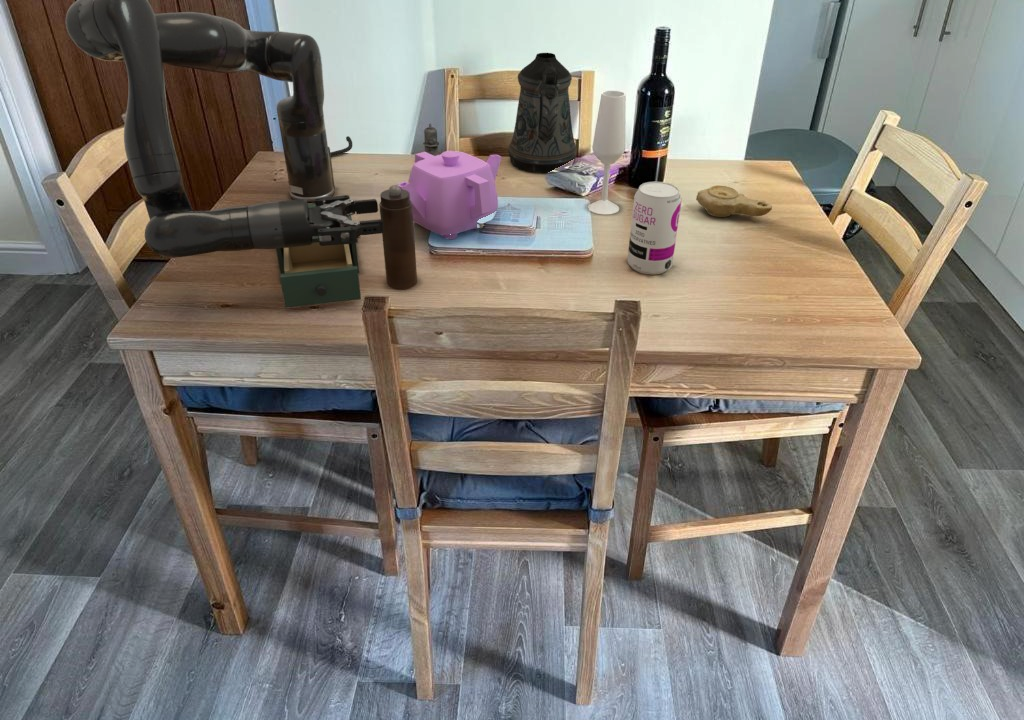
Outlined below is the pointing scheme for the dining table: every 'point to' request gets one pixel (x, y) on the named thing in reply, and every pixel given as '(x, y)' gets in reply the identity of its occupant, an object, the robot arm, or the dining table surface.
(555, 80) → the dark engraved coffee pot
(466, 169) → the teapot
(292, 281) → the drawer
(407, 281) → the pepper mill
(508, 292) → the dining table surface
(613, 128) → the champagne flute
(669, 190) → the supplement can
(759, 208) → the oil lamp
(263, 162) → the dining table surface
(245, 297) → the dining table surface
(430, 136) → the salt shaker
